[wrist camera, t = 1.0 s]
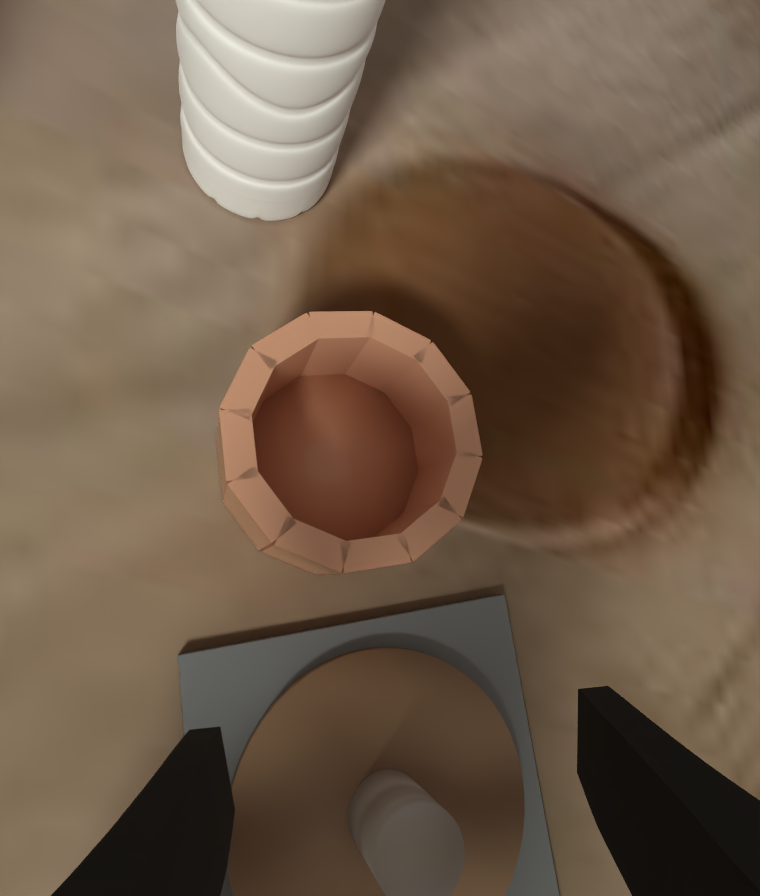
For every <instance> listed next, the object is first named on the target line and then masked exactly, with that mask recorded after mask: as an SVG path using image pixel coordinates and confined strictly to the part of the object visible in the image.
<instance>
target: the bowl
mask: <svg viewBox="0 0 760 896" xmlns="http://www.w3.org/2000/svg"><path fill="white" fill-rule="evenodd" d="M430 341H431V340H430V339H428V338H426V337H424V336H422V335H420V334H418V333H416V332H414V331H412V330H410V329H408V328H406V327H404V326H402V325H400V324H398V323H396V322H394V321H392V320H390V319H388V318H386V317H384V316H382V315H380V314H378V313H377V312H374V314H373V313H372V311H330V312H309V314H307V313H305V314H303V315H301V316H300V317H298V318H296V319H295V320H293V321H291V322H290V323H288V324H286V325H285V326H283V327H281V328H280V329H278V330H276V331H275V332H273V333H271V334H270V335H268V336H266V337H265V338H263V339H261V340H260V341H258V342H256V343H255V344H253V345H252V347H251V348H249V350H248V352H247V354H246V356H245V358H244V360H243V362H242V364H241V366H240V368H239V370H238V372H237V374H236V376H235V378H234V380H233V382H232V384H231V386H230V388H229V390H228V392H227V394H226V396H225V398H224V400H223V402H222V404H221V405H220V409H219V417H218V428H217V439H216V445H217V455H218V465H219V475H220V486H221V496H222V500H223V503H224V505H225V506H226V507H227V509H228V510H229V511H230V513H231V514H232V515H233V517H234V518H235V519H236V521H237V522H238V523H239V525H240V526H241V527H242V529H243V530H244V531H245V533H246V534H247V535H248V537H249V538H250V539H251V541H252V542H253V543H254V545H255V546H256V547H257V549H258V550H260V549H262V551H261V552H262V553H265V554H267V555H269V556H272V557H274V558H277V559H279V560H282V561H284V562H287V563H289V564H291V565H294V566H296V567H299V568H301V569H304V570H306V571H309V572H311V573H313V574H318V575H320V574H338V573H349V572H355V571H361V570H368V569H374V568H380V567H387V566H393V565H399V564H406V563H411V562H412V561H415V560H416V559H417V558H418V557H419V556H420V555H422V554H423V553H424V552H425V551H426V550H427V549H429V548H430V547H431V546H432V545H433V544H434V543H435V542H437V541H438V540H439V539H440V538H441V537H442V536H444V535H445V534H446V533H447V532H448V531H449V530H450V529H452V528H453V527H454V526H455V525H456V524H457V523H458V522H460V521H461V520H462V519H461V518H462V517H464V514H465V511H466V508H467V505H468V502H469V498H470V495H471V492H472V489H473V486H474V483H475V480H476V477H477V474H478V471H479V468H480V465H481V462H482V459H483V458H481V456H483V454H482V448H481V443H480V437H479V432H478V427H477V421H476V416H475V410H474V405H473V399H472V395H467V394H468V393H470V391H469V389H468V388H467V387H466V385H465V384H464V383H463V381H462V380H461V379H460V377H459V376H458V375H457V373H456V372H455V371H454V369H453V368H452V367H451V365H450V364H449V363H448V361H447V360H446V359H445V357H444V356H443V355H442V353H441V352H440V351H439V349H438V348H437V347H436V345H435V344H434V343H433V342H432V343H431V344H430Z"/></svg>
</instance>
